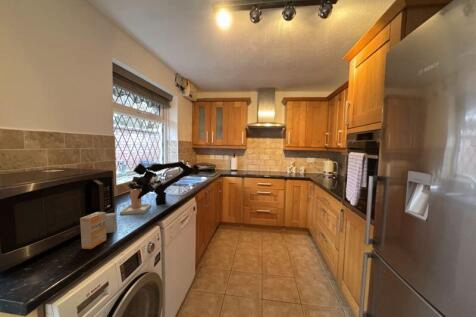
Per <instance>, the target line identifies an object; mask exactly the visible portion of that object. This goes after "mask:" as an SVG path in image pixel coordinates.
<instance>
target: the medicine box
mask: <svg viewBox="0 0 476 317" xmlns="http://www.w3.org/2000/svg"><path fill="white" fill-rule="evenodd" d="M105 220H106V234H111V233H115V232H117V230H118V222H117V213H116V212H111V213H105Z"/></svg>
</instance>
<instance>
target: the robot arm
mask: <svg viewBox="0 0 476 317" xmlns="http://www.w3.org/2000/svg"><path fill="white" fill-rule="evenodd" d="M175 168H180V169H181V172H179V173H178V174H176V175H174V176H173V177H171V178H169V179H168V180H166V181H165V182H158V183H157V184H155V186H153V185H152V184H151V183H152V182H151V181H152V179H153V178H156V177H158V176H157V172H160V171H162V170H163V171H164V170H167V169H175ZM194 172H195V171H194V168H193V167H191V166H188V164H186V163H184V162H183V161H176V162H175V161H174V162H168V163H155V162H154V163H152V164H150V165H149V166H144V165H143V164H142V163H138V164H137V165H136V166H135V167H134V168H133V173H135V174H138V175H139V176H133V177H132V180H131V181H132V182H130V183H128V185H127V187H128V188H130V190H132V189H141V192H140V194H139V196H138V199H140V198H141V199H142V198H143V197H144V196H146V195H147V194H150V193H154V194H156V197H155V206H158V205H159V206H161V205H166V204H167V203H168V202H167V192H165V191H166V190H167V188H169V187H171V185H174V184H176V183H177V182H178V181H180V180H182V179H183V178H185V177H188V176H191V175H192V174H194ZM129 198H130V199H131V194H130V196H129Z"/></svg>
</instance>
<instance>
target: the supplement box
mask: <svg viewBox="0 0 476 317" xmlns="http://www.w3.org/2000/svg"><path fill="white" fill-rule="evenodd" d="M105 214H106V212H105V211H96V212H93V213H90V214H88V215H86V216H83V217H80V218H79V224H80V239H81V240H80V241H81V242H80V243H81V249H83V250H85V249H86V250H92V249H94V248H95V247H97V246H98V245H101V244H102V243H104V242H106V241H107V233H106V220H105Z"/></svg>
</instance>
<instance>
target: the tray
mask: <svg viewBox="0 0 476 317" xmlns="http://www.w3.org/2000/svg"><path fill="white" fill-rule="evenodd" d="M141 204H142V207H141V208H139V209H132V208H131V204H128V205H127V206H125V207H124V208H123V209H121V210H120V211H119V216H120V215H121V216H123V215H139V214H146V213H147V212H148V211H149V209H151V207H152V203H141Z"/></svg>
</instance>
